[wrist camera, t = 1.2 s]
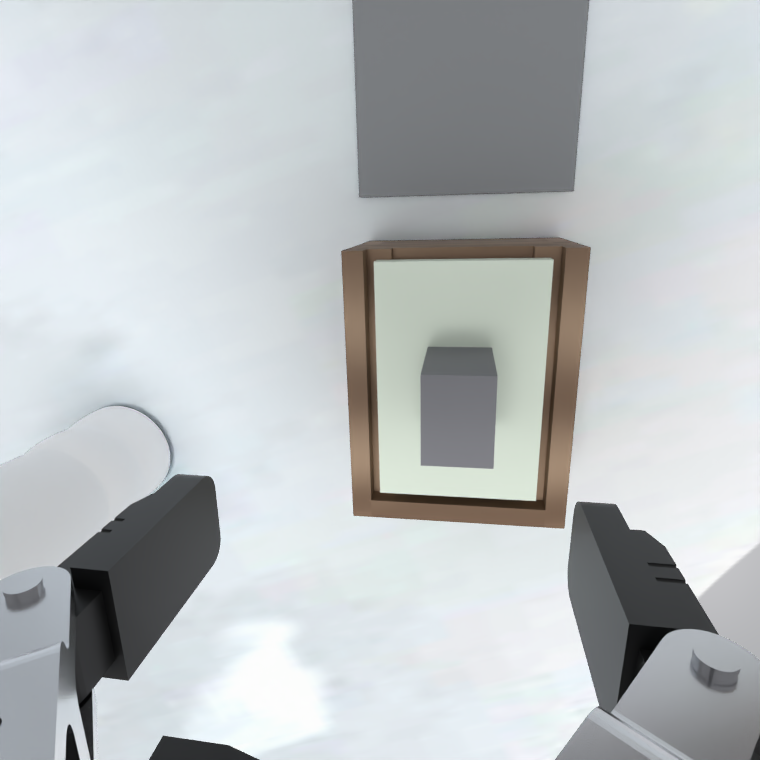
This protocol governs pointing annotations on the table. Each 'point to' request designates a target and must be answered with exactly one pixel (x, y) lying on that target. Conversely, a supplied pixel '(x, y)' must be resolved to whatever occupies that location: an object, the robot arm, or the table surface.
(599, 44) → the table surface
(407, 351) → the lid
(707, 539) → the table surface
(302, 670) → the table surface
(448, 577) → the table surface
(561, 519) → the box
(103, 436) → the water bottle
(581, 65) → the mat
